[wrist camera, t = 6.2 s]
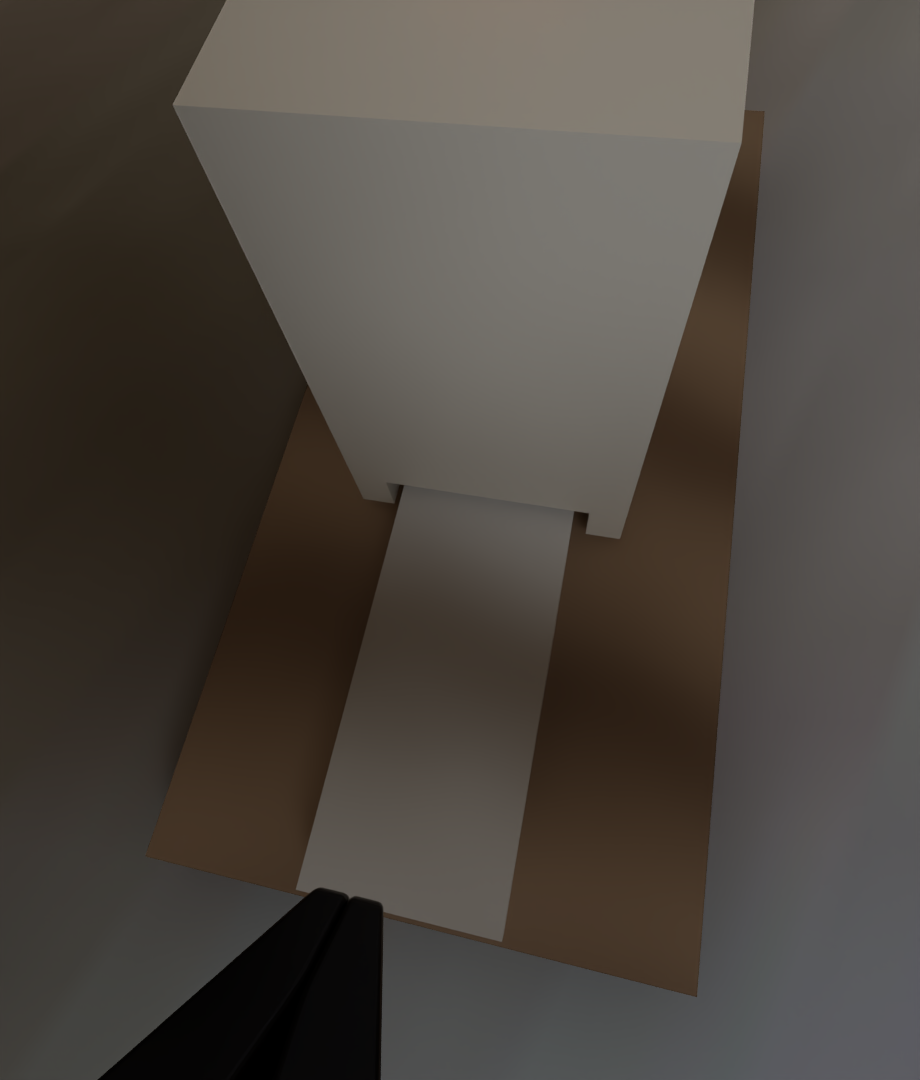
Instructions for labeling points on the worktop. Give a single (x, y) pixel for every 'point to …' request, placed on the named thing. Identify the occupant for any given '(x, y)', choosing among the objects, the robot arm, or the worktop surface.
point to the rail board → (489, 683)
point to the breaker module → (478, 222)
